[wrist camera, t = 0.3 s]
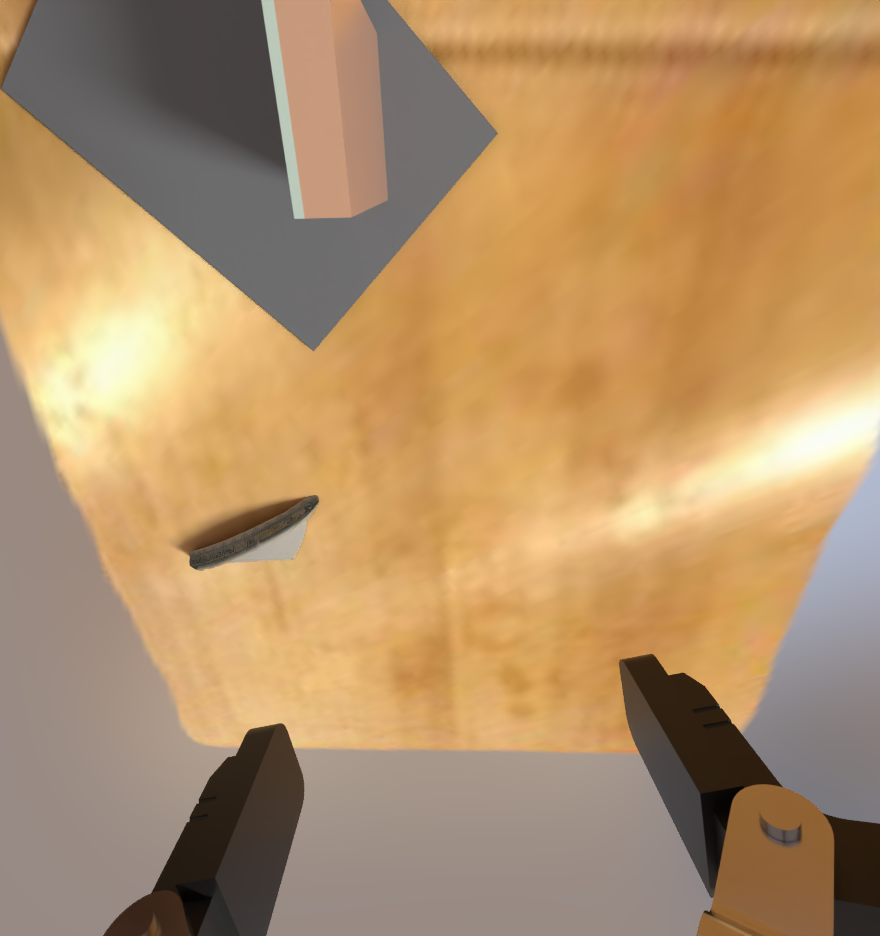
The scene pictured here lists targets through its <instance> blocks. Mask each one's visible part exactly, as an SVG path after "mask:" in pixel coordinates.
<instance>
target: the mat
mask: <svg viewBox="0 0 880 936" xmlns="http://www.w3.org/2000/svg"><path fill="white" fill-rule="evenodd" d="M361 2H362V4H363V6H364V8H365V10H366V12H367V14H368V16H369V18H370V20H371V22H372V24H373V26H374V28H375V30H376V32H377V41H378V56H379V71H380V86H381V101H382V116H383V131H384V146H385V161H386V176H387V191H388V200H387V201H385V202H383V203H381V204H379V205H377V206H374V207H372V208H370V209H368V210H366V211H364V212H362V213H360V214H358V215H356V216H353V217H348V218H309V219H294V213H293V207H292V200H291V193H290V187H289V180H288V174H287V167H286V160H285V154H284V147H283V140H282V134H281V127H280V121H279V114H278V107H277V101H276V94H275V87H274V81H273V74H272V68H271V61H270V54H269V48H268V41H267V34H266V28H265V21H264V15H263V8H262V1H261V0H37V3H36V5H35V8H34V10H33V12H32V15H31V17H30V20H29V22H28V24H27V27H26V29H25V32H24V34H23V37H22V39H21V41H20V44H19V46H18V49H17V51H16V54H15V56H14V58H13V61H12V63H11V66H10V68H9V71H8V73H7V75H6V78H5V80H4V83H3V85H2V87H1V89H2V90H3V91H4V92H6V93H7V94H8V95H9V96H10V97H12V98H13V99H14V100H15V101H16V102H18V103H19V104H20V105H21V106H22V107H23V108H25V109H26V110H27V111H28V112H29V113H31V114H32V115H33V116H34V117H35V118H37V119H38V120H39V121H40V122H41V123H43V124H44V125H45V126H46V127H47V128H48V129H50V130H51V131H52V132H53V133H54V134H56V135H57V136H58V137H59V138H60V139H62V140H63V141H64V142H65V143H66V144H68V145H69V146H70V147H71V148H72V149H74V150H75V151H76V152H77V153H78V154H79V155H81V156H82V157H83V158H84V159H85V160H87V161H88V162H89V163H90V164H91V165H93V166H94V167H95V168H96V169H97V170H99V171H100V172H101V173H102V174H103V175H104V176H106V177H107V178H108V179H109V180H110V181H112V182H113V183H114V184H115V185H116V186H118V187H119V188H120V189H121V190H122V191H124V192H125V193H126V194H127V195H128V196H129V197H131V198H132V199H133V200H134V201H135V202H137V203H138V204H139V205H140V206H141V207H143V208H144V209H145V210H146V211H147V212H149V213H150V214H151V215H152V216H153V217H154V218H156V219H157V220H158V221H159V222H160V223H162V224H163V225H164V226H165V227H166V228H168V229H169V230H170V231H171V232H172V233H174V234H175V235H176V236H177V237H178V238H179V239H181V240H182V241H183V242H184V243H185V244H187V245H188V246H189V247H190V248H191V249H193V250H194V251H195V252H196V253H197V254H199V255H200V256H201V257H202V258H203V259H204V260H206V261H207V262H208V263H209V264H210V265H212V266H213V267H214V268H215V269H216V270H218V271H219V272H220V273H221V274H222V275H224V276H225V277H226V278H227V279H228V280H229V281H231V282H232V283H233V284H234V285H235V286H237V287H238V288H239V289H240V290H241V291H243V292H244V293H245V294H246V295H247V296H249V297H250V298H251V299H252V300H253V301H254V302H256V303H257V304H258V305H259V306H260V307H262V308H263V309H264V310H265V311H266V312H268V313H269V314H270V315H271V316H272V317H274V318H275V319H276V320H277V321H278V322H280V323H281V324H282V325H283V326H284V327H285V328H287V329H288V330H289V331H290V332H291V333H293V334H294V335H295V336H296V337H297V338H299V339H300V340H301V341H302V342H303V343H305V344H306V345H307V346H308V347H309V348H310V349H312V350H313V351H314V350H315V349H316V348H317V347H318V345H319V344H320V343H321V342H322V341H323V340H324V338H325V337H326V336H327V335H328V334H329V332H330V331H331V330H332V329H333V328H334V326H335V325H336V324H337V323H338V322H339V321H340V319H341V318H342V317H343V316H344V315H345V313H346V312H347V311H348V310H349V309H350V308H351V306H352V305H353V304H354V303H355V302H356V300H357V299H358V298H359V297H360V296H361V295H362V293H363V292H364V291H365V290H366V289H367V287H368V286H369V285H370V284H371V283H372V282H373V280H374V279H375V278H376V277H377V276H378V274H379V273H380V272H381V271H382V270H383V269H384V267H385V266H386V265H387V264H388V263H389V261H390V260H391V259H392V258H393V257H394V256H395V254H396V253H397V252H398V251H399V250H400V248H401V247H402V246H403V245H404V244H405V243H406V241H407V240H408V239H409V238H410V237H411V235H412V234H413V233H414V232H415V231H416V230H417V228H418V227H419V226H420V225H421V224H422V222H423V221H424V220H425V219H426V218H427V217H428V215H429V214H430V213H431V212H432V211H433V209H434V208H435V207H436V206H437V205H438V204H439V202H440V201H441V200H442V199H443V198H444V196H445V195H446V194H447V193H448V192H449V191H450V189H451V188H452V187H453V186H454V185H455V183H456V182H457V181H458V180H459V179H460V178H461V176H462V175H463V174H464V173H465V172H466V170H467V169H468V168H469V167H470V166H471V165H472V163H473V162H474V161H475V160H476V159H477V157H478V156H479V155H480V154H481V153H482V152H483V150H484V149H485V148H486V147H487V146H488V144H489V143H490V142H491V141H492V140H493V139H494V137H495V136H496V135H497V134H498V133H497V132H496V131H495V129H494V128H493V127H492V126H491V125H490V123H489V122H488V121H487V120H486V119H485V117H484V116H483V115H482V114H481V113H480V111H479V110H478V109H477V108H476V107H475V105H474V104H473V103H472V102H471V101H470V99H469V98H468V97H467V96H466V95H465V93H464V92H463V91H462V90H461V89H460V87H459V86H458V85H457V84H456V83H455V81H454V80H453V79H452V78H451V77H450V75H449V74H448V73H447V72H446V71H445V69H444V68H443V67H442V66H441V64H440V63H439V62H438V61H437V60H436V58H435V57H434V56H433V55H432V54H431V52H430V51H429V50H428V49H427V48H426V46H425V45H424V44H423V43H422V42H421V40H420V39H419V38H418V37H417V36H416V34H415V33H414V32H413V31H412V30H411V28H410V27H409V26H408V25H407V24H406V22H405V21H404V20H403V19H402V18H401V16H400V15H399V14H398V13H397V12H396V10H395V9H394V8H393V7H392V6H391V4H390V3H389V2H388V1H387V0H361Z"/></svg>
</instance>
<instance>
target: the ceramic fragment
mask: <svg viewBox="0 0 880 936" xmlns="http://www.w3.org/2000/svg"><path fill="white" fill-rule="evenodd" d="M318 502H319V499H318V496H317V495H313V496H309V497H307V498H305V499H303V500H302V501H300V502H299V503H298V504H296V505H295V506H293V507H291V508H290V509H288V510H287V511H286V512H284V513H282V514H279V515H278V516H276V517H274V518H272V519H270V520H268V521H266V522H264V523H262V524H260V525H258V526H256V527H254V528H251V529H249V530H247V531H245V532H243V533H241V534H238V535H236V536H234V537H231V538H229V539H226V540H224V541H221V542H219V543H216V544H213V545H210V546H207V547H205V548H201V549H198V550H194V551H191V552H190V562H189V563H190V566H191V567H193V568H194V569H196V570H199V571H202V570H204V569H210V568H214V567H217V566H220V565H223V564H226V563H234V562H250V561H267V560H292V559H294V557H295V556H296V553H297V551H298V550H299V548H300V546H301V544H302V541H303V538H304V535H305V531H306V525H307V521H308V519H309V518H310V517H311V516H312V515H313V514H314V512H315V510H316V508H317V505H318Z"/></svg>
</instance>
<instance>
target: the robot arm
mask: <svg viewBox="0 0 880 936" xmlns="http://www.w3.org/2000/svg"><path fill="white" fill-rule="evenodd" d="M619 667H620V674H621V681H622V688H623V695H624V702H625V709H626V716H627V720H628V724H629V728H630V731H631V734H632V737H633V740H634V742H635V744H636V746H637V749H638V751H639V753H640V755H641V757H642V758H643V760H644V763H645V765H646V767H647V769H648V771H649V773H650V775H651V777H652V779H653V781H654V783H655V785H656V787H657V789H658V791H659V793H660V795H661V797H662V799H663V801H664V803H665V806H666V808H667V810H668V812H669V814H670V815H671V818H672V820H673V822H674V824H675V826H676V828H677V830H678V832H679V834H680V836H681V838H682V840H683V842H684V844H685V846H686V848H687V850H688V852H689V854H690V856H691V858H692V860H693V862H694V864H695V867H696V868H697V871H698V873H699V875H700V877H701V879H702V881H703V883H704V885H705V887H706V889H707V891H708V893H709V895H710V897H711V898H713V897H714V898H713V904H712V907H711V910H710V912H708V911H704V912H703V914H702V917H701V920H700V924H699V927H698V932H697V936H880V824H877V823H869V822H861V821H853V820H846V819H841V818H836V817H833V816H829V815H826V814H824V813H822V812H821V811H820V810H819V809H818V808H817V807H816V806H815V805H814V804H813V803H811V802H810V801H809V800H807V799H806V798H804V797H803V796H801V795H799V794H797V793H795V792H793V791H791V790H788V789H786V788H783V787H782V786H781V784H780V783H779V782H778V781H777V780H776V778H775V777H774V776H773V774H772V773H771V772H770V770H769V769H768V768H767V766H766V765H765V764H764V763H763V761H762V760H761V759H760V757H759V756H758V755H757V754H756V752H755V751H754V750H753V748H752V747H751V746H750V744H749V743H748V742H747V741H746V739H745V738H744V737H743V735H742V734H741V733H740V731H739V730H738V729H737V728H736V726H735V725H734V724H732V723H731V720H730V718H729V717H728V716H727V715H726V713H725V712H724V711H723V709H722V708H721V709H720V707H719V704H718V703H717V702H716V700H715V699H714V698H713V696H712V695H711V694H710V692H709V691H708V690H707V689H706V687H705V686H703V685H702V684H700V683H699V682H697V681H696V680H694V679H693V678H691V677H690V676H688V675H686V674H685V673H679V674H674V675H668V674H667V673H666V671H665V670H664V668H663V667H662V666H661V664H660V663H659V661H658V660H657V658H656V657H655V656H654V655H653V654H648V655H643V656H637V657H632V658H627V659H622V660H620V662H619ZM303 800H304V780H303V775H302V771H301V769H300V766H299V763H298V760H297V757H296V754H295V751H294V748H293V746H292V743H291V740H290V737H289V734H288V731H287V729H286V727H285V726H284V724H281V723H280V724H275V725H270V726H264V727H259V728H254V729H250V730H249V731H248V732H247V734H246V735H245V737H244V740H243V742H242V744H241V746H240V748H239V750H238V752H237V754H236V756H232V757H228V758H227V759H226V760H225V761H224V762H223V763H222V765H221V766H220V767H219V768H218V769H217V770H216V771H215V772H214V774H213V775H212V776H211V777H210V778H209V780H208V782H207V784H206V786H205V788H204V790H203V792H202V794H201V796H200V798H199V804H196V806H195V808H194V810H193V812H192V814H191V816H190V821H189V822H187V824H186V826H185V828H184V830H183V832H182V834H181V836H180V838H179V840H178V842H177V843H176V845H175V848H174V850H173V851H172V854H171V855H170V858H169V859H168V861H167V863H166V865H165V867H164V869H163V871H162V873H161V875H160V877H159V879H158V881H157V883H156V885H155V887H154V889H153V891H152V893H151V894H148V895H146V896H144V897H142V898H141V899H139V900H137V901H136V902H135V903H133V904H132V905H131V906H129V907H128V908H127V909H126V910H124V911H123V912H122V913H121V914H120V915H119V916H118V917H117V918H116V919H115V921H114V922H113V923H112V924H111V925H110V927H109V928H108V929H107V931H106V932H105V934H104V935H103V936H266V934H267V930H268V927H269V923H270V920H271V916H272V913H273V909H274V905H275V901H276V898H277V895H278V891H279V887H280V884H281V880H282V877H283V873H284V870H285V866H286V862H287V859H288V855H289V851H290V848H291V845H292V841H293V838H294V834H295V830H296V827H297V823H298V820H299V816H300V813H301V809H302V805H303Z"/></svg>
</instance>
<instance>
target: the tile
mask: <svg viewBox="0 0 880 936" xmlns="http://www.w3.org/2000/svg"><path fill="white" fill-rule="evenodd" d="M261 1H262V8H263V15H264V21H265V28H266V34H267V41H268V48H269V54H270V61H271V68H272V74H273V81H274V87H275V94H276V101H277V107H278V114H279V121H280V127H281V134H282V140H283V147H284V154H285V160H286V167H287V174H288V180H289V187H290V193H291V200H292V207H293V213H294V219H309V218H348V217H353V216H356V215H358V214H360V213H362V212H364V211H366V210H368V209H370V208H372V207H374V206H377V205H379V204H381V203H383V202H385V201H387V200H388V191H387V176H386V161H385V146H384V131H383V116H382V101H381V86H380V71H379V56H378V41H377V32H376V30H375V28H374V26H373V24H372V22H371V20H370V18H369V16H368V14H367V12H366V10H365V8H364V6H363V4H362V2H361V0H261Z"/></svg>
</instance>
